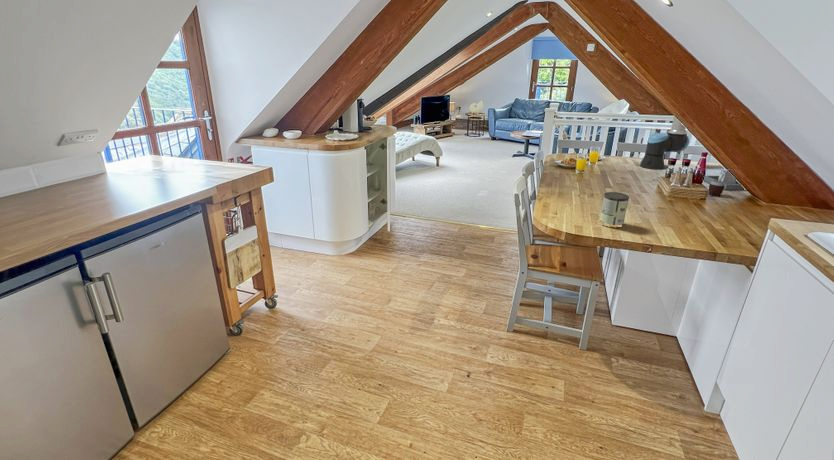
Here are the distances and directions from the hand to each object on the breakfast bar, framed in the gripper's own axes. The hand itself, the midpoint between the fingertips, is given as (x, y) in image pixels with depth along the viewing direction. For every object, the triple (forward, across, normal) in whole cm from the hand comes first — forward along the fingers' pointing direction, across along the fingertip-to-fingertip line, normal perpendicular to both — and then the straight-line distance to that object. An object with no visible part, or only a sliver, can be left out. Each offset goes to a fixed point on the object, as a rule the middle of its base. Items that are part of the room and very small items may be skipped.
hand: (734, 151), depth 243 cm
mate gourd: (+21, +20, -20) cm, 36 cm away
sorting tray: (+21, +1, 0) cm, 21 cm away
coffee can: (+21, +63, -99) cm, 120 cm away
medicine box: (+20, +1, 0) cm, 20 cm away
